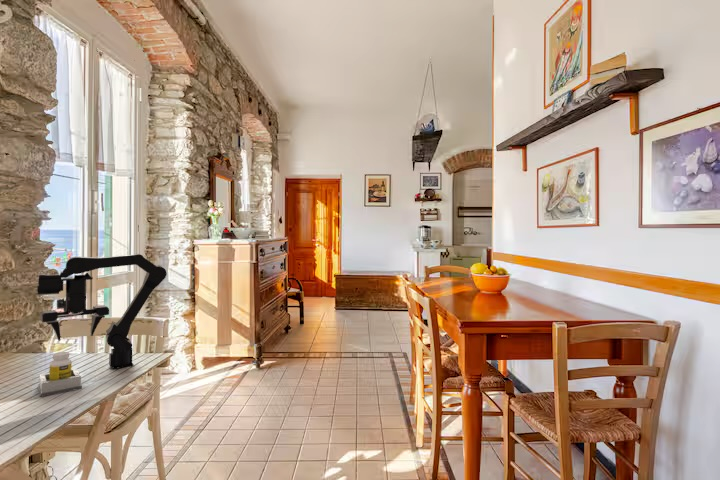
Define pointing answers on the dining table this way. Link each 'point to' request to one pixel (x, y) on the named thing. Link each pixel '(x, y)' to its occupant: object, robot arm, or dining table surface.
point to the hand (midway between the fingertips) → (75, 338)
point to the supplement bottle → (60, 366)
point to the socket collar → (59, 384)
